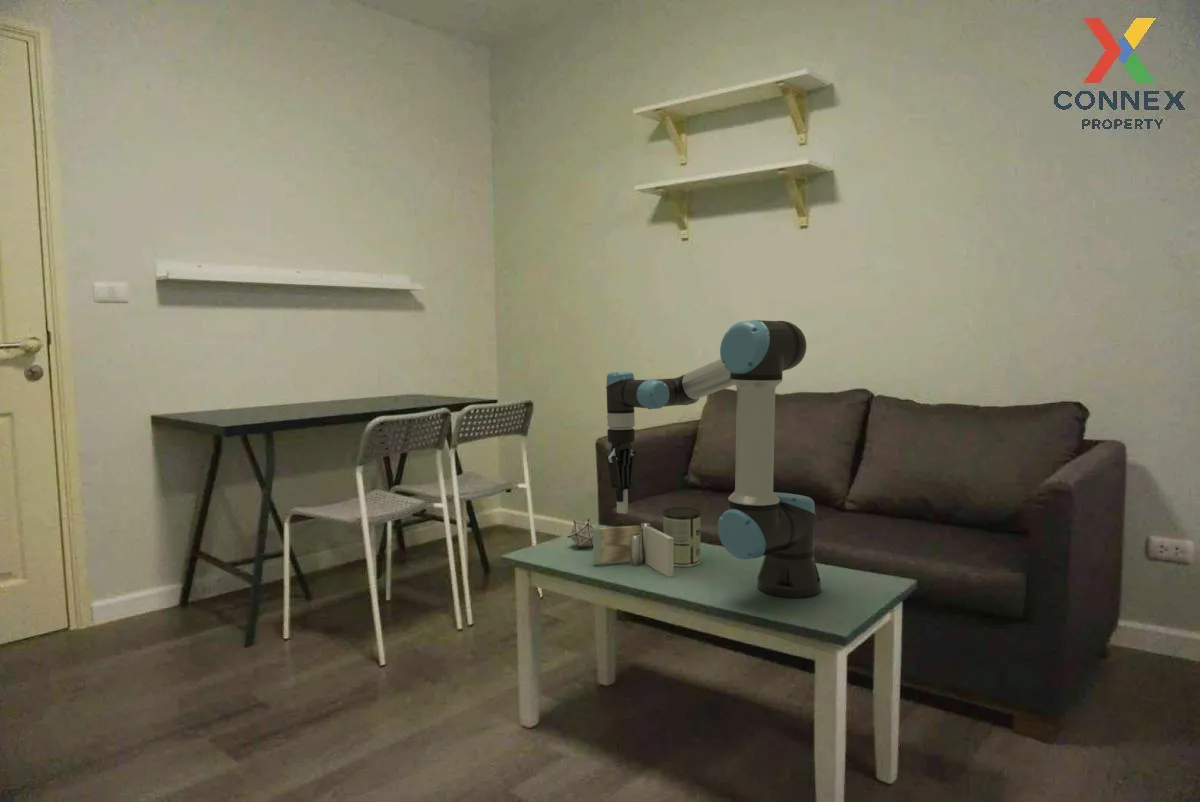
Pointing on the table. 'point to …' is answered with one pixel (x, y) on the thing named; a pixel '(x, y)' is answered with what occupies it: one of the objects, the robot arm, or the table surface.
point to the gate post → (643, 540)
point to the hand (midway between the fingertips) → (622, 512)
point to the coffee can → (683, 534)
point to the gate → (613, 543)
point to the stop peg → (635, 550)
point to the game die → (582, 534)
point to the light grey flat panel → (659, 551)
